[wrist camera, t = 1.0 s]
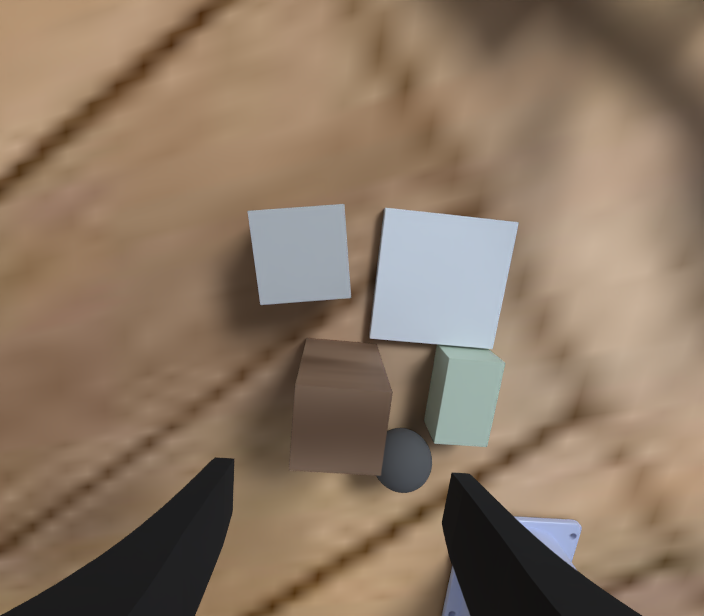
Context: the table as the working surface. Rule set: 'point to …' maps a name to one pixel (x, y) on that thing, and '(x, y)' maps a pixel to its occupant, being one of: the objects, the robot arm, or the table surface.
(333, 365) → the walnut block
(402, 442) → the black rubber ball
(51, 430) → the table surface
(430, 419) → the sage green slab
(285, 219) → the grey stone cube
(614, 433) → the table surface
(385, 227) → the coaster
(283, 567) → the table surface
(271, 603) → the table surface
